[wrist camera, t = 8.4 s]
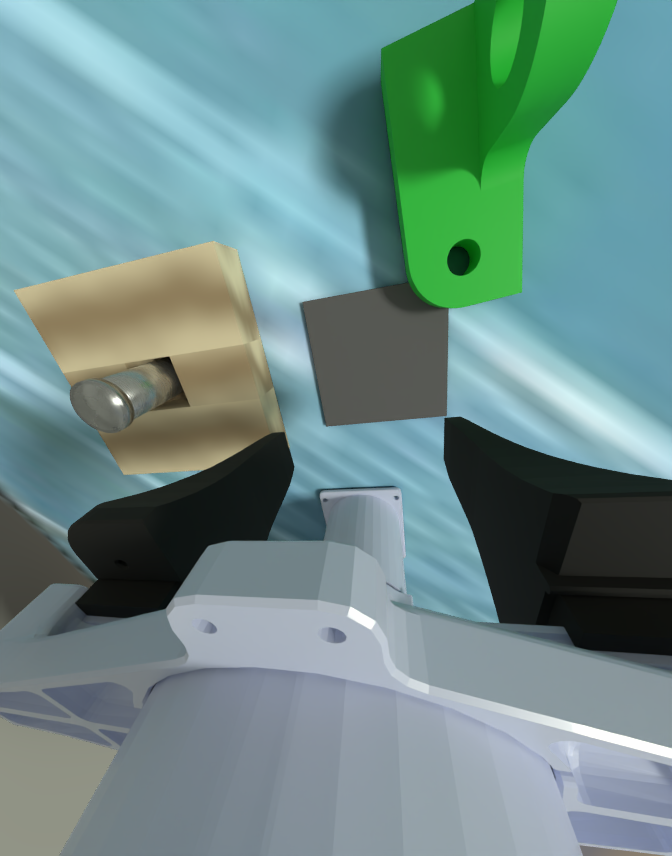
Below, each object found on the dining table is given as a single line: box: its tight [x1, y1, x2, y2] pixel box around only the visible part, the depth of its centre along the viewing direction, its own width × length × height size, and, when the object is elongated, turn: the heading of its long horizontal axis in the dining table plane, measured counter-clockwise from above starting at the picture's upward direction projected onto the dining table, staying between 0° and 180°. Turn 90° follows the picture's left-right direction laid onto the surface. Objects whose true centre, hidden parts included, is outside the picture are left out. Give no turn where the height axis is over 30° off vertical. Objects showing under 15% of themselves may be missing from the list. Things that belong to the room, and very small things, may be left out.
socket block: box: [14, 241, 290, 475], centre depth 22 cm, size 16×16×3 cm
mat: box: [303, 283, 448, 426], centre depth 20 cm, size 10×10×1 cm
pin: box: [70, 356, 184, 433], centre depth 19 cm, size 3×3×8 cm
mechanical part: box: [381, 0, 617, 308], centre depth 12 cm, size 12×6×8 cm, turn 15°
